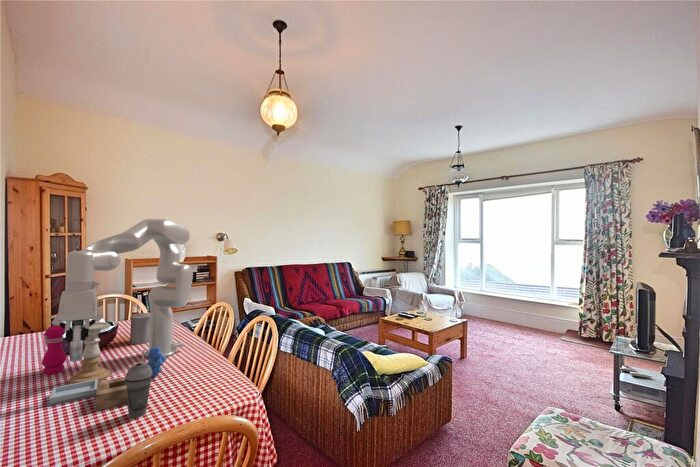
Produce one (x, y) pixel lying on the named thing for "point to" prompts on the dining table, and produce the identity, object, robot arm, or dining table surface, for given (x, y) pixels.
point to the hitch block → (111, 393)
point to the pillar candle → (140, 328)
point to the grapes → (156, 360)
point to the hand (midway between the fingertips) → (76, 339)
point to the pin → (76, 340)
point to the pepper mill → (54, 351)
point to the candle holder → (91, 357)
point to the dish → (73, 392)
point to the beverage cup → (138, 388)
